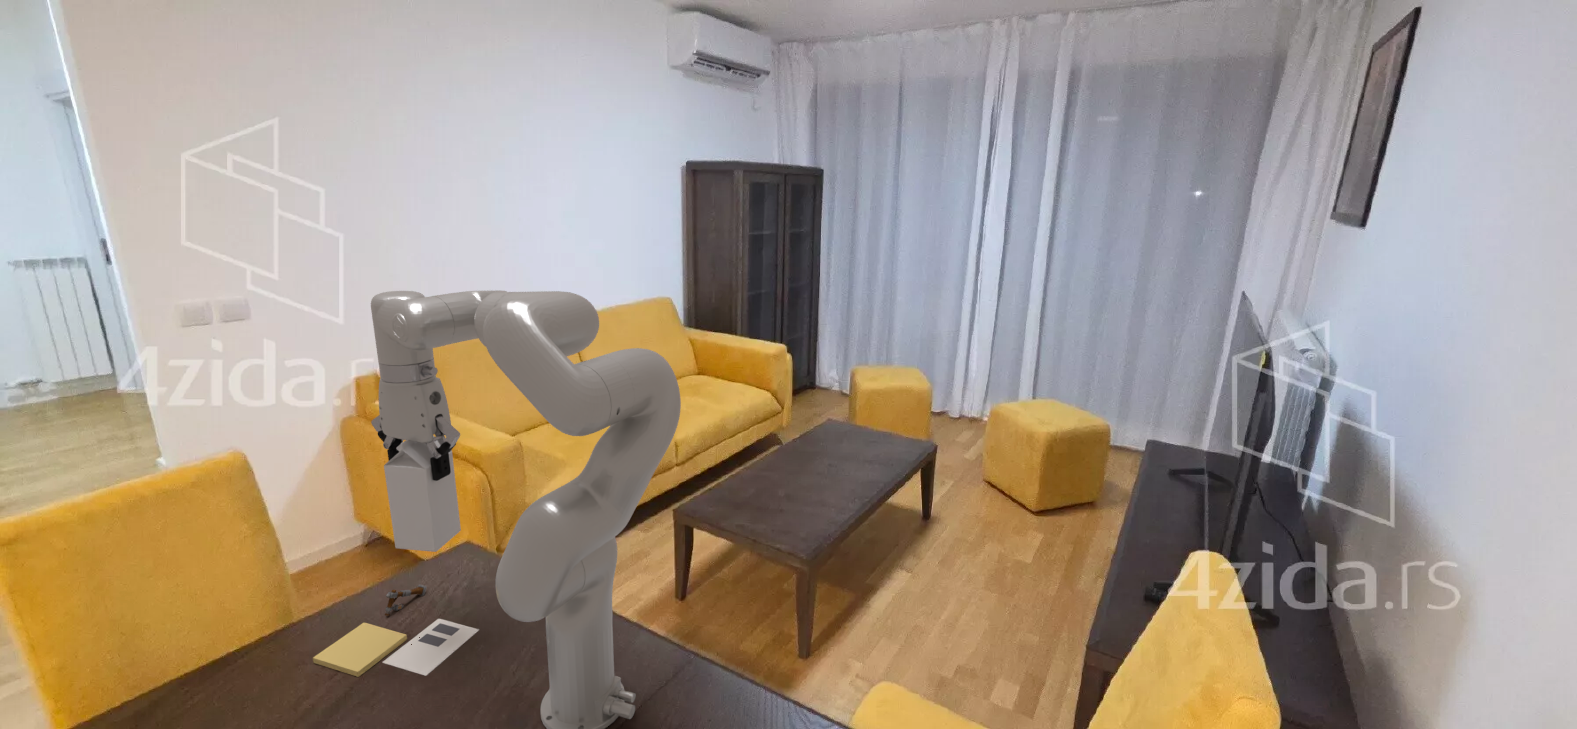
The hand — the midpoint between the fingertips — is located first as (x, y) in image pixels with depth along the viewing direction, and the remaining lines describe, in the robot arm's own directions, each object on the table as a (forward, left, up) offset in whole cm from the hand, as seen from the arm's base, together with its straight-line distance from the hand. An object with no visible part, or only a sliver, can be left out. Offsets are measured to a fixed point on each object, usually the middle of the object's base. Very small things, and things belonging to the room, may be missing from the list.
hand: (420, 472), depth 107 cm
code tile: (-1, +2, -32) cm, 32 cm away
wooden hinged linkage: (+12, -5, -32) cm, 35 cm away
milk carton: (0, 0, -13) cm, 13 cm away
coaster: (+9, +7, -32) cm, 34 cm away
